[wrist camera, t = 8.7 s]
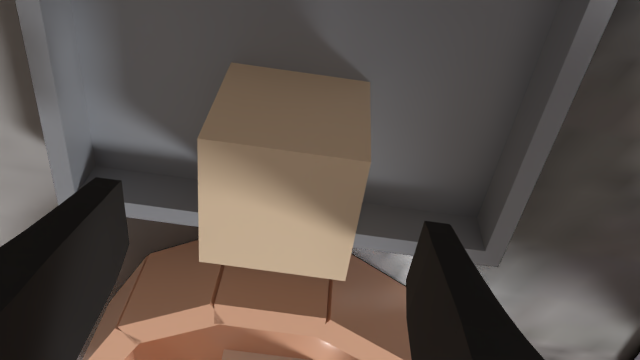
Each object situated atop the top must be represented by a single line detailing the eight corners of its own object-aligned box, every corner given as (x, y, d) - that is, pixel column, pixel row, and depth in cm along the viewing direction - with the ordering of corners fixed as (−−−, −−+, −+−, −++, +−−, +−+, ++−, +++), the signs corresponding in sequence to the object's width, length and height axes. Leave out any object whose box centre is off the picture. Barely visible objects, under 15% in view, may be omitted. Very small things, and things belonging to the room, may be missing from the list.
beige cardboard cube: (370, 81, 16) (371, 162, 13) (348, 190, 18) (345, 281, 15) (231, 62, 16) (197, 138, 13) (228, 174, 18) (198, 261, 15)
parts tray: (696, -300, 11) (757, -311, 9) (486, 221, 20) (498, 267, 18) (-7, -411, 11) (-78, -442, 9) (86, 167, 19) (58, 208, 18)
